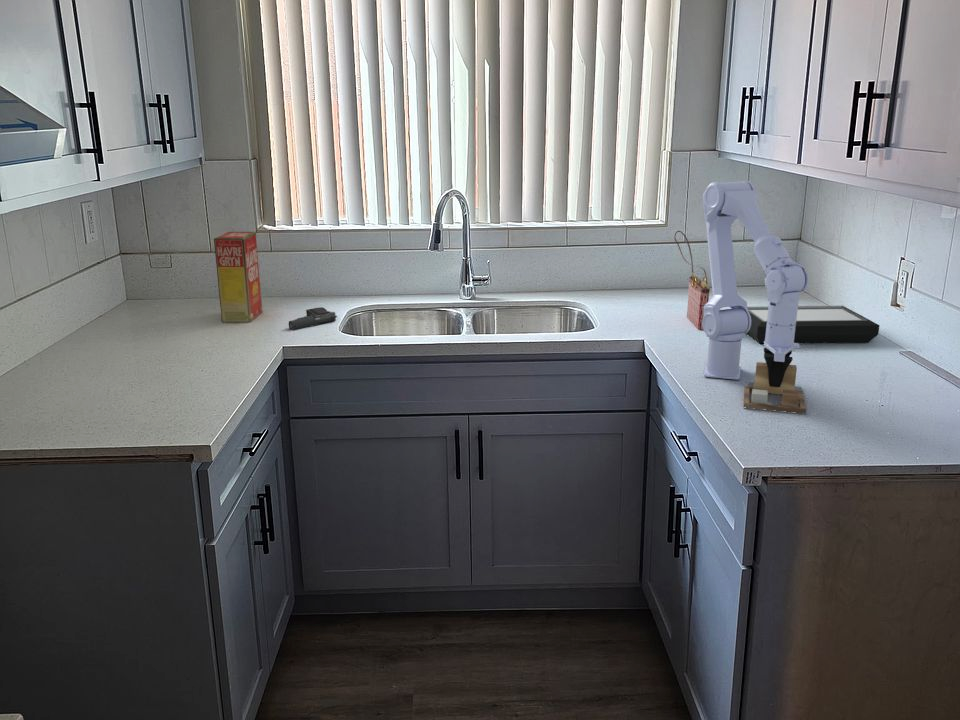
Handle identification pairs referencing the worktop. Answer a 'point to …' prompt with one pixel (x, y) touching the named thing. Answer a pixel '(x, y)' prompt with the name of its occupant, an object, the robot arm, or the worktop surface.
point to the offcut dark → (790, 398)
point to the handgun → (312, 318)
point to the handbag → (696, 295)
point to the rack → (774, 407)
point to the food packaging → (238, 276)
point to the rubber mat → (794, 388)
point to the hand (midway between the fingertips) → (774, 384)
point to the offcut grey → (759, 396)
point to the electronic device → (819, 325)
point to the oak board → (763, 379)
